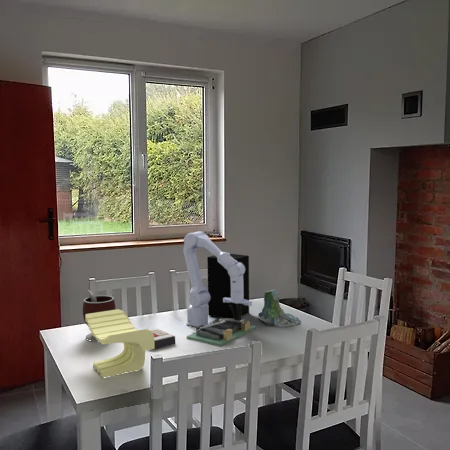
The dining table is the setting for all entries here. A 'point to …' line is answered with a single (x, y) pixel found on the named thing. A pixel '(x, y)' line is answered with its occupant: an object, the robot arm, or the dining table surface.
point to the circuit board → (221, 342)
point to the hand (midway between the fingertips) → (237, 319)
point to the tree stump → (276, 312)
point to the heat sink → (222, 329)
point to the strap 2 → (231, 320)
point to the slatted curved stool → (119, 341)
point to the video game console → (224, 286)
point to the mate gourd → (97, 307)
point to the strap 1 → (212, 324)
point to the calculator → (162, 339)
